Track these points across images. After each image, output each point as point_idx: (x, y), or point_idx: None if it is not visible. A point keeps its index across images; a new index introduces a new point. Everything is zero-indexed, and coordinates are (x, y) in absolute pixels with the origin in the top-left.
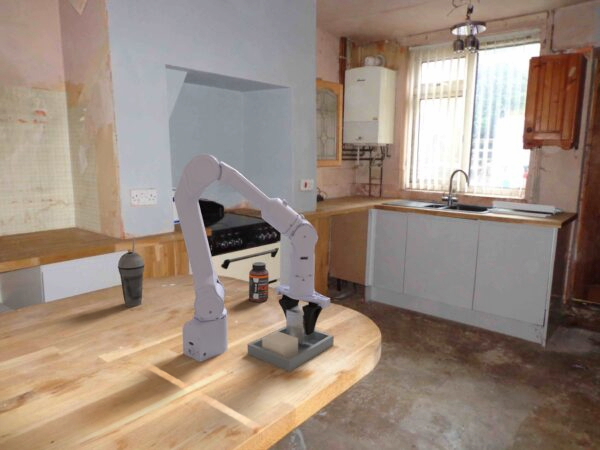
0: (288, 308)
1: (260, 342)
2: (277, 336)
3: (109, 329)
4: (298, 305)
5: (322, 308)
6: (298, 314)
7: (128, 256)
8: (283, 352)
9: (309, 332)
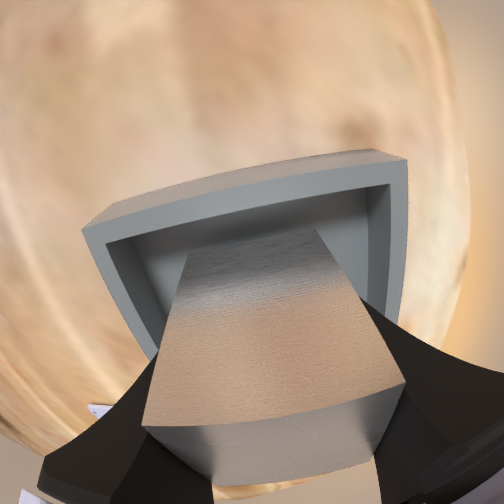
0: (206, 483)
1: None
2: None
3: (29, 429)
4: (171, 442)
5: (498, 380)
6: (329, 468)
7: None
8: None
9: None
